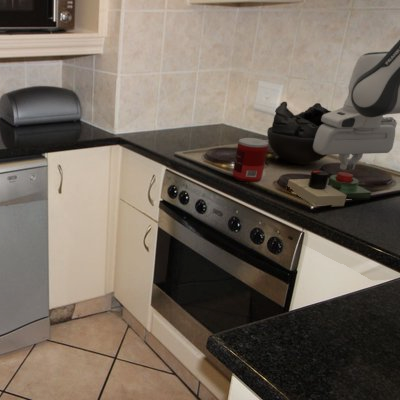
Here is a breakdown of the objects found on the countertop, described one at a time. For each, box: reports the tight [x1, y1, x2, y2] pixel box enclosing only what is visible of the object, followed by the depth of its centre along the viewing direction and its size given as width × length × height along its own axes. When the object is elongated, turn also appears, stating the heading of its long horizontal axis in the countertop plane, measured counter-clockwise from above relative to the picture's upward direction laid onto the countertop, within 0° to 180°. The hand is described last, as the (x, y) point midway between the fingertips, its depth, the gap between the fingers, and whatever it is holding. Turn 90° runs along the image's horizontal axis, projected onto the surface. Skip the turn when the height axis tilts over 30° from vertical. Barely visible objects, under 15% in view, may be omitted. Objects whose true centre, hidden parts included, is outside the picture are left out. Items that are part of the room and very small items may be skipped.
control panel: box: [286, 178, 347, 207], centre depth 125 cm, size 12×8×3 cm
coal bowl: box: [266, 101, 333, 165], centre depth 149 cm, size 20×20×19 cm
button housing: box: [327, 174, 372, 201], centre depth 128 cm, size 11×8×4 cm
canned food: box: [232, 137, 269, 183], centre depth 137 cm, size 8×8×11 cm
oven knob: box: [308, 169, 330, 190], centre depth 123 cm, size 4×4×4 cm
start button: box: [336, 171, 354, 182], centre depth 127 cm, size 4×4×2 cm
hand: (346, 169), depth 126 cm, fingers closed
